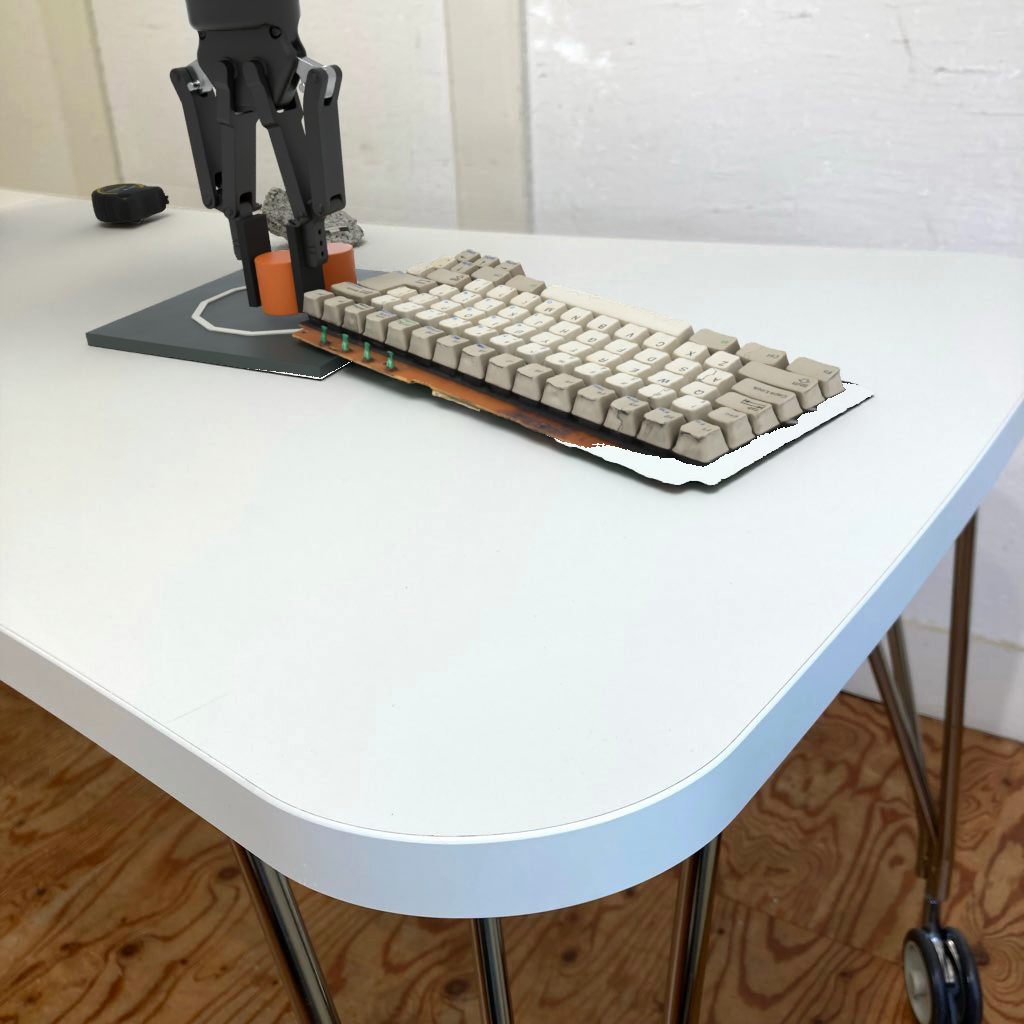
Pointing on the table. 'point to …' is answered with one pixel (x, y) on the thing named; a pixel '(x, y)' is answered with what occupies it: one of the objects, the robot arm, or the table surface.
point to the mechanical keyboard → (565, 359)
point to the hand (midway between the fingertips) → (288, 304)
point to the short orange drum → (339, 265)
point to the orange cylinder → (276, 283)
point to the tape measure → (128, 202)
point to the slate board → (221, 331)
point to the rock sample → (280, 212)
